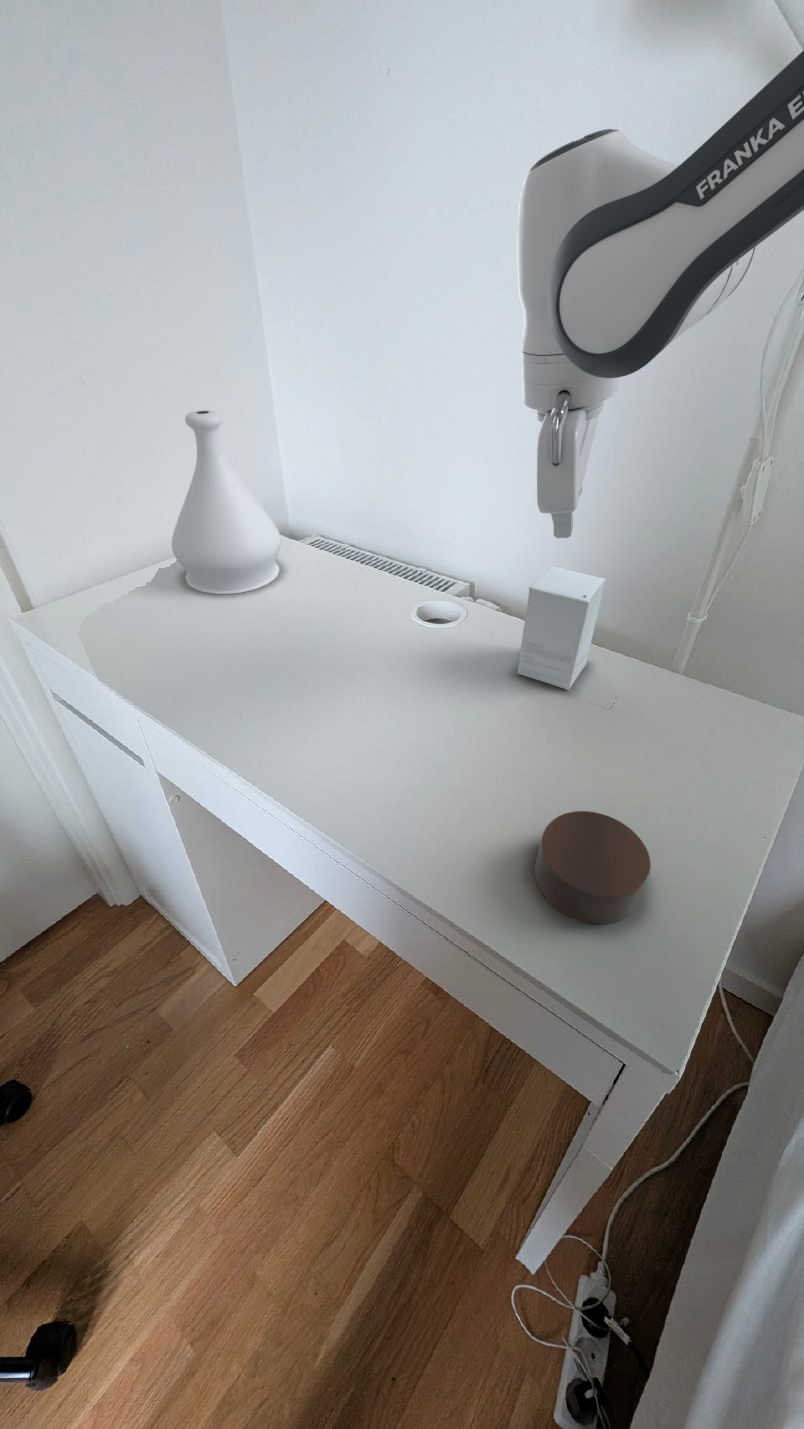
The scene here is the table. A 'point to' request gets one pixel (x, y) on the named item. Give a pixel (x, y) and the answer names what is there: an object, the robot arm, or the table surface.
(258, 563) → the vase
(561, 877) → the walnut riser
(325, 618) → the table surface
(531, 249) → the robot arm
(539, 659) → the white packaging box
